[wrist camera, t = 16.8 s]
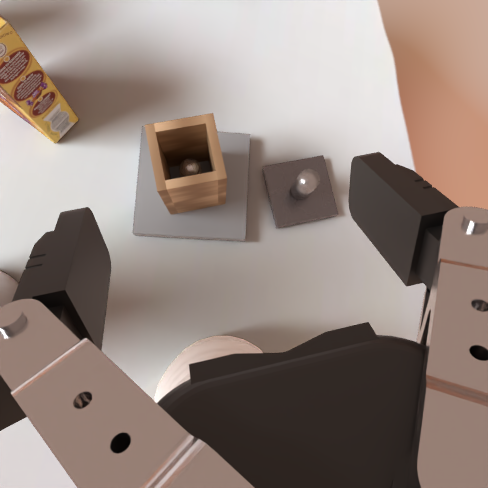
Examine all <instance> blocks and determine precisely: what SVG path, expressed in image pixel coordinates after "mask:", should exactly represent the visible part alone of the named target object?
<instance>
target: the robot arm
mask: <svg viewBox="0 0 488 488" xmlns="http://www.w3.org/2000/svg"><path fill="white" fill-rule="evenodd" d="M349 209H350V213H351V216H352V218H353V219H354V221H355V222H356V223H357V225H358V226H359V227H360V228H361V230H362V231H363V232H364V233H365V235H366V236H367V237H368V238H369V240H370V241H371V242H372V244H373V245H374V246H375V247H376V249H377V250H378V251H379V252H380V254H381V255H382V256H383V257H384V259H385V260H386V261H387V262H388V264H389V265H390V266H391V268H392V269H393V270H394V271H395V273H396V274H397V275H398V276H399V278H400V279H401V280H402V281H403V283H404V284H405V285H406V286H411V285H415V284H419V283H424V284H425V285H426V290H425V294H424V299H423V305H422V311H421V317H420V323H419V329H418V335H417V341H416V342H414V341H411V340H407V339H403V338H398V337H393V336H383V335H376V334H375V332H374V330H373V329H372V327H371V326H370V324H369V322H367V323H362V324H358V325H354V326H349V327H345V328H341V329H337V330H332V331H328V332H325V333H323V334H321V335H319V336H317V337H315V338H313V339H311V340H309V341H307V342H305V343H303V344H301V345H299V346H297V347H295V348H293V349H291V350H289V351H287V352H283V353H237V354H230V355H226V356H222V357H218V358H213V359H209V360H205V361H201V362H196V363H192V364H189V370H190V379H189V380H187V381H185V382H183V383H182V384H180V385H178V386H177V387H175V388H174V389H172V390H171V391H170V392H169V393H167V394H166V395H165V396H164V397H162V398H161V399H160V400H159V401H158V402H157V403H156V402H155V401H154V400H153V399H152V398H151V397H150V396H148V395H147V394H146V393H145V392H144V391H143V390H142V389H141V388H140V387H139V386H138V385H137V384H136V383H135V382H134V381H132V380H131V379H130V378H129V377H128V376H127V375H126V374H125V373H124V372H123V371H122V370H121V369H120V368H119V367H118V366H117V365H115V364H114V363H113V362H112V361H111V360H110V359H109V358H108V357H107V356H106V355H105V354H104V353H103V352H102V351H101V349H102V340H103V332H104V324H105V315H106V307H107V299H108V290H109V282H110V274H111V261H110V256H109V252H108V249H107V247H106V244H105V242H104V239H103V237H102V234H101V232H100V230H99V227H98V225H97V222H96V220H95V218H94V215H93V213H92V211H91V210H90V208H88V207H86V208H81V209H76V210H70V211H65V212H61V213H60V215H59V218H58V221H57V224H56V227H55V230H54V231H51V232H46V233H45V234H44V235H43V236H42V237H41V238H40V239H39V240H38V241H37V243H36V244H35V245H34V247H33V249H32V252H31V254H30V259H29V260H28V262H27V264H26V267H25V268H26V270H24V272H23V274H22V277H21V279H20V282H19V284H18V283H17V282H16V281H15V280H14V279H13V278H12V277H11V276H9V275H8V274H6V273H4V272H2V271H0V431H1V430H3V429H4V428H6V427H8V426H10V425H12V424H14V423H16V422H18V421H20V420H22V419H24V418H25V417H28V418H29V420H30V421H31V423H32V424H33V426H34V427H35V428H36V430H37V431H38V433H39V434H40V435H41V437H42V438H43V440H44V441H45V442H46V444H47V445H48V447H49V448H50V450H51V451H52V452H53V454H54V455H55V457H56V458H57V459H58V461H59V462H60V464H61V465H62V467H63V468H64V469H65V471H66V472H67V474H68V475H69V476H70V478H71V479H72V481H73V482H74V483H75V485H76V486H77V488H488V210H486V209H482V208H477V207H458V206H457V205H456V204H454V203H453V202H452V201H451V200H449V199H448V198H447V197H446V196H444V195H443V194H442V193H441V192H439V191H438V190H437V189H436V188H434V187H433V188H432V185H431V184H429V183H428V182H427V181H424V180H423V178H422V177H421V176H419V175H418V174H417V173H415V172H414V171H413V170H410V169H408V168H405V167H403V166H400V165H398V164H397V165H395V164H393V163H392V162H391V161H390V160H389V159H387V158H386V157H385V156H384V155H383V154H381V153H380V152H376V153H371V154H366V155H361V156H356V157H354V158H353V160H352V163H351V175H350V189H349Z"/></svg>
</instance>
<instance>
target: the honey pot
mask: <svg viewBox="0 0 488 488" xmlns="http://www.w3.org/2000/svg"><path fill="white" fill-rule="evenodd" d="M237 353H263V352H262V351H261V350H260V349H259V348H258V347H257V346H255V345H253V344H251V343H250V342H248V341H246V340H244V339H240V338H237V337H233V336H212V337H208V338H205V339H201V340H198V341H197V342H195V343H193V344H192V345H190V346H188V347H187V348H185V349H184V350H183V351H182V352H181V353H180V354H179V355H178V356H177V357H176V358H175V359H174V360H173V362H172V363H171V364H170V366H169V367H168V368H167V370H166V372H165V373H164V375H163V377H162V378H161V380H160V382H159V384H158V386H157V390H156V393H155V397H154V401H155V402H156V403H157V402H158V401H159V400H160V399H161V398H162V397H164V396H165V395H166V394H167V393H169V392H170V391H171V390H172V389H174V388H175V387H177V386H178V385H180V384H182V383H183V382H185V381H187V380H189V379H190V370H189V364H192V363H196V362H201V361H205V360H209V359H213V358H218V357H222V356H226V355H230V354H237Z"/></svg>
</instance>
